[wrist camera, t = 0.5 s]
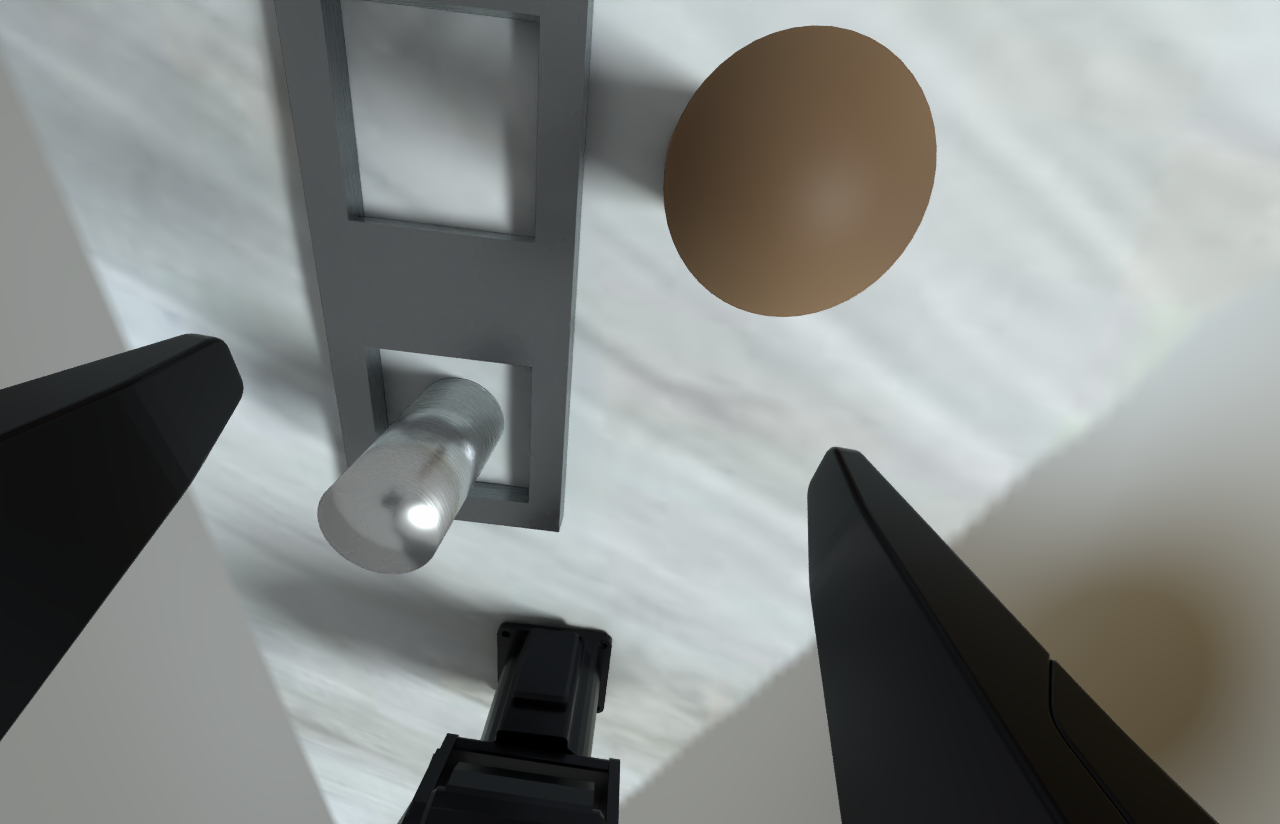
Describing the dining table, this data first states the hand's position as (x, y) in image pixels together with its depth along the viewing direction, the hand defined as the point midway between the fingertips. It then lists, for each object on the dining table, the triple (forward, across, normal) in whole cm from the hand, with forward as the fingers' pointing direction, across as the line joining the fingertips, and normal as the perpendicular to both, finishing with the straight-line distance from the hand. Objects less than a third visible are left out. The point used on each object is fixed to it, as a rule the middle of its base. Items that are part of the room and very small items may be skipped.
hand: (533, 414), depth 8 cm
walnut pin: (+15, -3, 0) cm, 16 cm away
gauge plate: (+14, +6, +6) cm, 16 cm away
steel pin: (+12, +6, +12) cm, 18 cm away
